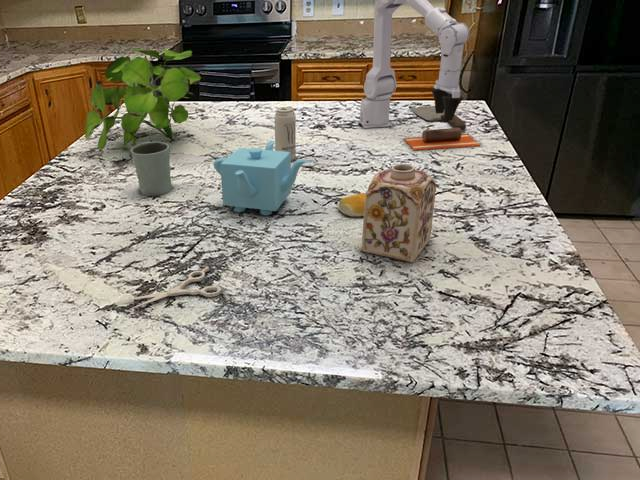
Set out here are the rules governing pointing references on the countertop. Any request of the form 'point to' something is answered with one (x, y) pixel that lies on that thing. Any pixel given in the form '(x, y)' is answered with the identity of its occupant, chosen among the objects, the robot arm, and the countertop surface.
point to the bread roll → (353, 205)
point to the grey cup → (152, 167)
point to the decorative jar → (398, 213)
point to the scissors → (180, 291)
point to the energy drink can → (285, 131)
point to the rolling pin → (441, 135)
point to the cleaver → (438, 116)
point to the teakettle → (257, 178)
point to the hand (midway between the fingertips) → (443, 116)
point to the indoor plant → (141, 96)
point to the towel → (441, 143)
